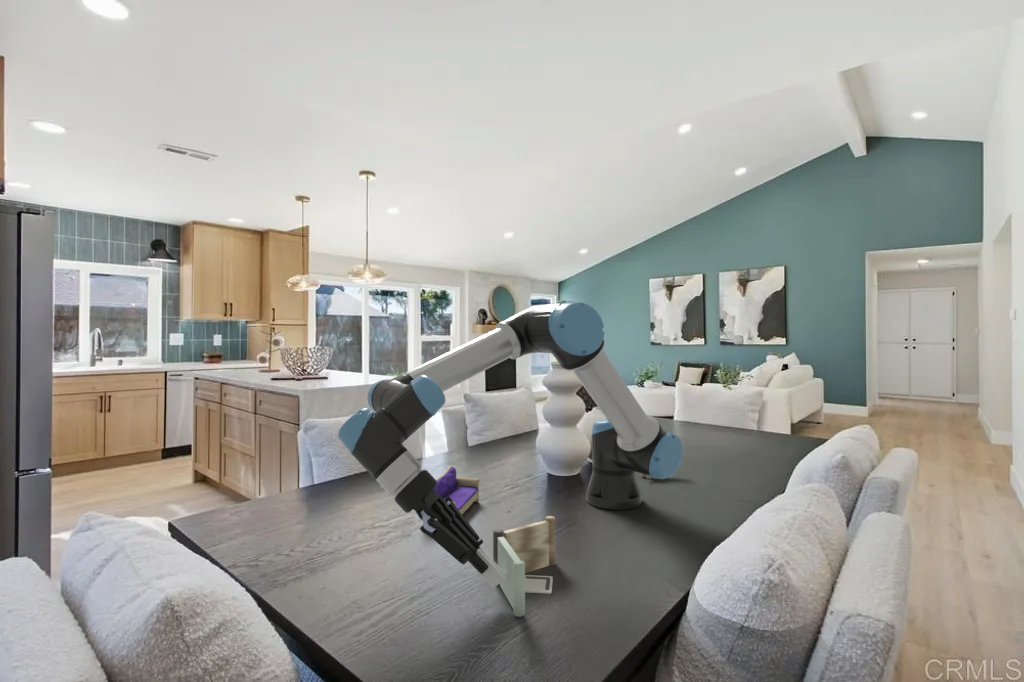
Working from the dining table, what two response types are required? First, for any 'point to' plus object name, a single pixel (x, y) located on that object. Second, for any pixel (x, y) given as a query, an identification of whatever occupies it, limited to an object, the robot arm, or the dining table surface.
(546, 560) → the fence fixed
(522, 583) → the panel
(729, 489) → the dining table surface
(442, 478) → the toy sofa
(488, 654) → the dining table surface
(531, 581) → the card
